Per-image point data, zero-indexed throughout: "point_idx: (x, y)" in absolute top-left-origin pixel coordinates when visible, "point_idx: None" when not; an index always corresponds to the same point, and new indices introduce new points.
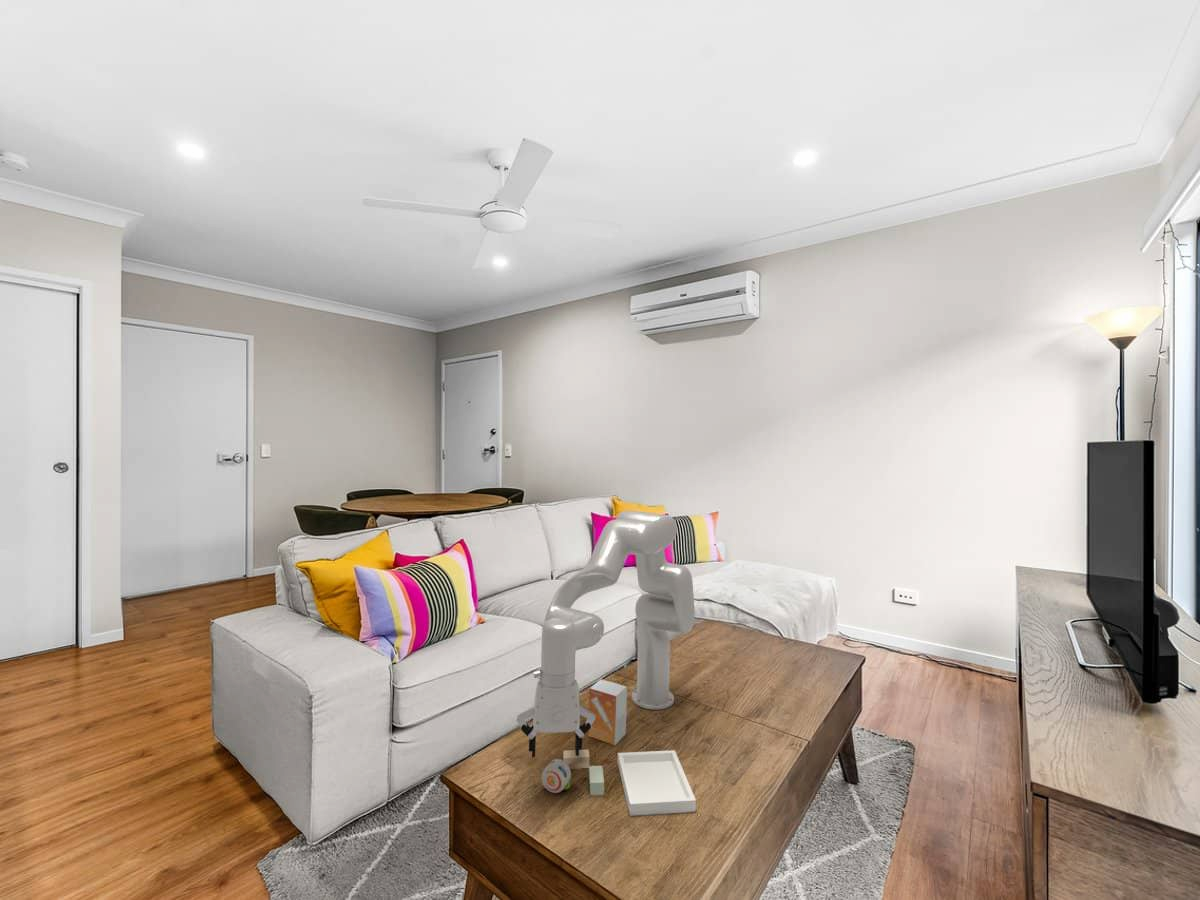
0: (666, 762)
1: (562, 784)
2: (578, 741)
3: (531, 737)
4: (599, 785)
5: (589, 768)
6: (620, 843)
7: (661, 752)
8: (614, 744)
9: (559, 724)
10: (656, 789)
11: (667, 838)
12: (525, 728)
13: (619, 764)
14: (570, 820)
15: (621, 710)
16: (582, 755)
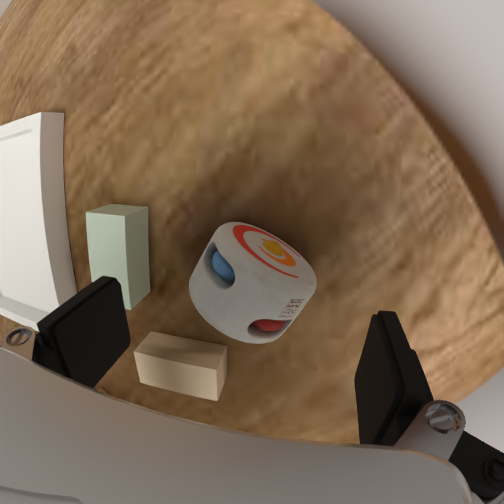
0: (6, 292)
1: (230, 223)
2: (52, 314)
3: (432, 414)
4: (104, 211)
5: (129, 296)
6: (106, 16)
7: (1, 310)
8: (100, 389)
9: (47, 473)
10: (12, 204)
11: (27, 55)
12: (490, 475)
13: None
14: (223, 87)
15: None
16: (155, 364)
